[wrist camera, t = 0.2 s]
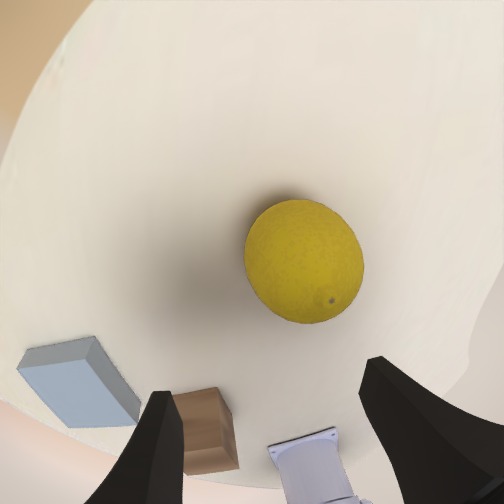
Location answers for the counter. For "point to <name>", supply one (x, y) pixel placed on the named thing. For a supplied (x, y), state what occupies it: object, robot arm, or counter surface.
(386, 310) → the counter surface
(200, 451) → the walnut block
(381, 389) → the robot arm
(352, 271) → the lemon
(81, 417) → the blue-gray block
